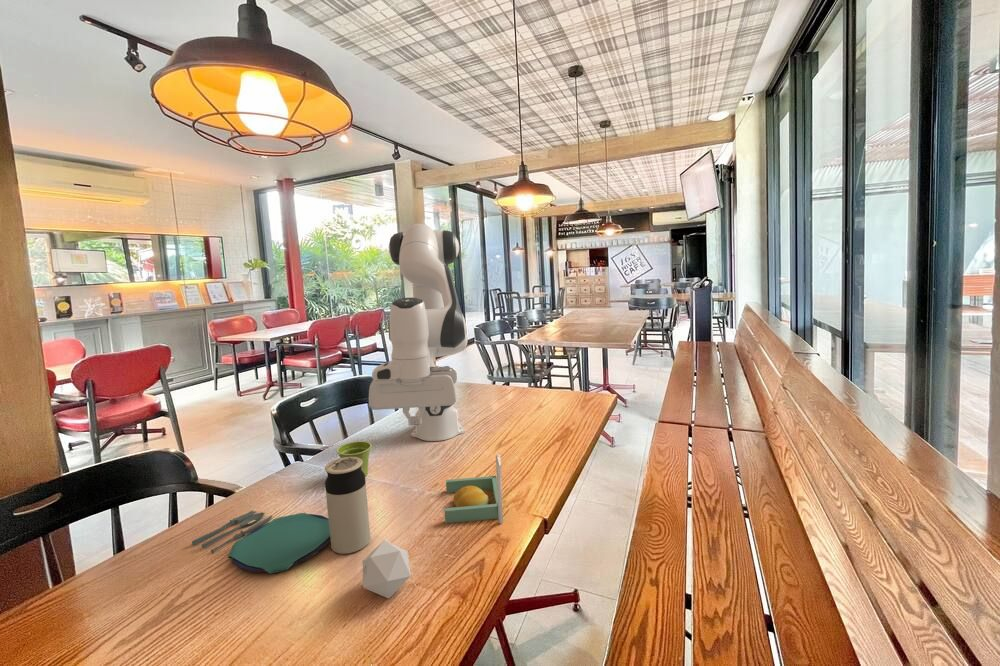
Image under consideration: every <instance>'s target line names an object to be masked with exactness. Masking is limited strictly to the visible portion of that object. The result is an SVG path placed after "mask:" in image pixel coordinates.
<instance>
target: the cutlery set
mask: <svg viewBox="0 0 1000 666" xmlns="http://www.w3.org/2000/svg"><path fill="white" fill-rule="evenodd" d="M265 514H266V513H265V512H263V511H262V512H261V511H260V512H258V513H257V511H255V510H250V511H249V512H246V513H244V514H241V515H240V516H237V517H235V518H232V519H229V522H227V523H225V524H223V525H222V526H220V527H219V528H216V529H215V530H213V531H211V532H209V533H206V534H204V535H201V536H200V537H198V538H195V539H193V540H192V541H191V544H192V546H196V545H198V544H199V543H201V542H202V541H204V540H206V539H208V538H211V537H213V536H215V535H216V534H218V533H220V532H222V531H223V530H225V529H226V528H227V527H229V526H231V525H232V526H235V525H237V524H239V523H240V525H239V526H237V527H234V528H233V529H230V530H228V531H225V532H223V533H222V534H220V535H218V536H215V537H214V538H211V539H210V540H207V541H206V542H204V543H201V548H202V549H205V548H207V547H209V546H210V545H211V544H213V543H215V542H216V541H219V540H220V539H222V538H223V537H225V536H227V535H229V534H231V533H233V532H235V531H236V530H239V529H241V528H243V527H246V526H251V525H252V526H251V527H249V528H247V529H246V530H244V531H243V530H240V532H238V533H235V535H233V536H232V537H231V538H230V539H228V540H226V541H224V542H223V543H222V544H220V545H218V546H217V547H214V548H213V549H210V553H211V554H214V552H215V551H216V550H218V549H220V548H221V547H223V546H225V545H226V544H229V543H230V542H231V541H233V540H236V539H238V540H236V541H235V542H234V543H233V545H232V547H231V549H230V551H229V553H228V556H227V558H228V559H232V562H233V564H234V565H235V566H236V567H237V568H239V569H241V570H244V571H249V572H253V573H255V572H256V573H257V572H267V573H269V574H275V573H279V572H282V571H288V570H289V569H290V568H291V566H293V565H296V564H299V563H301V562H303V561H305V560H306V559H307V560H308V558H310V557H312V556H314V555H315V554H317V553H319V552H320V551H321V550H322V549H323V548H324V547H326V545H327V544H329V542H331V539H330V529H329V519H328V518H327V517H325V516H323V515H321V514H313V513H306V512H301V513H300V512H299V513H294V514H289V515H285V516H279V517H277V518H275V519H272V518H273V515H269V516H268V517H266V518H265V519H263V520H261V519H262V518H263V517H264V515H265ZM271 519H272V520H271ZM260 520H261V521H260ZM270 520H271V521H270ZM258 521H259V522H258ZM269 521H270V522H269ZM245 534H246V535H245ZM241 536H243V537H242V538H241Z"/></svg>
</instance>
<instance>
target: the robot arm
mask: <svg viewBox="0 0 1000 666" xmlns="http://www.w3.org/2000/svg"><path fill="white" fill-rule="evenodd" d="M459 252H460V244H459V240H458V238H457V235H456V234H455V232H453V231H451V230H446V229H445V230H436V229H435V230H433V228H432V227H430V226H429V225H427V224H424V223H414V224H412V225H410V226H408V227H407V229H406V230H405V232H404V231H400V232H397V233H393V235H392V236H390V240H389V243H388V253H389V256H390V258H391V261H392V262H393V263H394V264H395V265H397V266H399V270H400V273H401V275H402V276H403V277H404V278H405V279H406V280H407V281H408V282H410V283H411V284H412V297H402V298H397V299H396V300H394V301H391V304H390V308H389V310H390V312H389V321H388V323H387V324H388V325H387V327H388V328H387V329H388V339H389V341H390V342H391V346H392V348H391V349H392V351H391V356H390V357H391V360H390V361H388V362H385V363H382V364H379V365H377V366H376V367H375V368H374V369H373V370H372V373H371V377H372V381H371V382H370V384H369V390H368V406H369V408H370V409H371V410H373V411H378V410H379V411H380V410H395V409H396V410H397V409H402V413H403V416H405V417H406V419H407V422H408V426H415V428H414V429H413V431H411V433H410V434H411V435H410V436H411V438H417V439H420V440H423V441H426V442H437V441H438V442H439V441H445V440H449V439H452V438H454V437H456V436H458V435H461V434H464V433H465V428H464V427H463V426H462V424H461V423H460V420H459V417H458V415H459V414H458V410H457V408H455V407H454V405H455V403H457V391H456V386H455V385H456V383H457V380H458V379H457V378H458V377H457V371H456V370H455V368H452V367H451V366H449V365H446V366H445V365H444V366H439V365H436V364H435V362H434V359H435V358H439V357H447V356H453V355H456V354H459V353H461V352H463V351H464V350H466V347H467V345H468V334H467V322H466V320H465V319H466V318H465V317H464V314H463V312H462V309H461V305H460V302H459V297H458V294H457V289H456V286H455V285H456V284H455V281H454V278H453V274H452V272H451V270H450V269H451V268H450V267H449V265H451V264H453V263H454V262H455V261H456V260H457V258H458V256H459ZM411 408H414V409H415V408H418V410H417V411H416V412H415V414H414V415H413V416H412V415H411V413H410V409H411Z"/></svg>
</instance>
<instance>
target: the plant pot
mask: <svg viewBox="0 0 1000 666" xmlns="http://www.w3.org/2000/svg"><path fill="white" fill-rule="evenodd" d="M371 448H372V444H371V442H369V441H363V440H362V441H360V440H358V441H357V440H356V441H352V442H351V441H350V442H347V443H345V444H342V445H340V446H339V447H338V448H337V449H336V452H337V454H338V456H339V458H344V457H357V458H360V459H361V460H362V461H363V463H362V465H361V470H362V471H363V472H364V474H365V478H366V477H367V475H368V474H369V458H370V457H369V456H370V453H371Z"/></svg>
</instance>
